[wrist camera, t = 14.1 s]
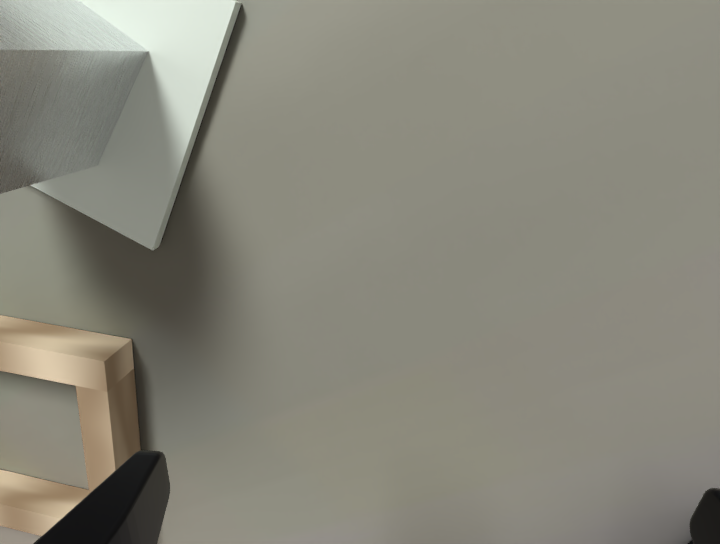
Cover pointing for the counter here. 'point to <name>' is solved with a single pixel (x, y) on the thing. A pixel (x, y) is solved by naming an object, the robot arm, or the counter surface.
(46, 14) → the steel cap block
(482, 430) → the counter surface
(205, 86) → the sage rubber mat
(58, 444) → the counter surface
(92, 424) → the oak socket frame
